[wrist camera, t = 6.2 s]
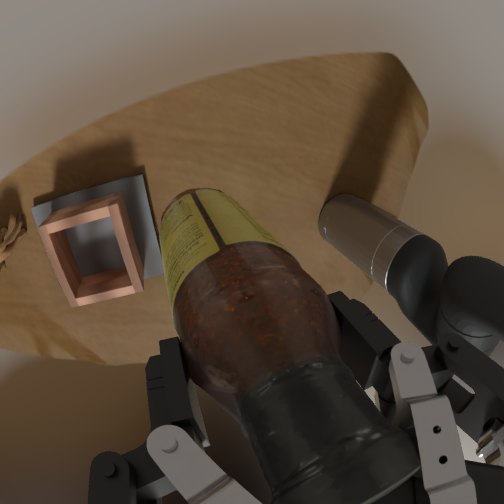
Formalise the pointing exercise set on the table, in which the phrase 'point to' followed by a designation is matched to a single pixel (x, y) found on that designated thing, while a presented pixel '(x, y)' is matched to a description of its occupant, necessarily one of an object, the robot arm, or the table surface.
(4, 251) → the lion figurine
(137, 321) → the table surface
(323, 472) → the sauce bottle
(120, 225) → the bottle holder
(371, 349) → the robot arm
